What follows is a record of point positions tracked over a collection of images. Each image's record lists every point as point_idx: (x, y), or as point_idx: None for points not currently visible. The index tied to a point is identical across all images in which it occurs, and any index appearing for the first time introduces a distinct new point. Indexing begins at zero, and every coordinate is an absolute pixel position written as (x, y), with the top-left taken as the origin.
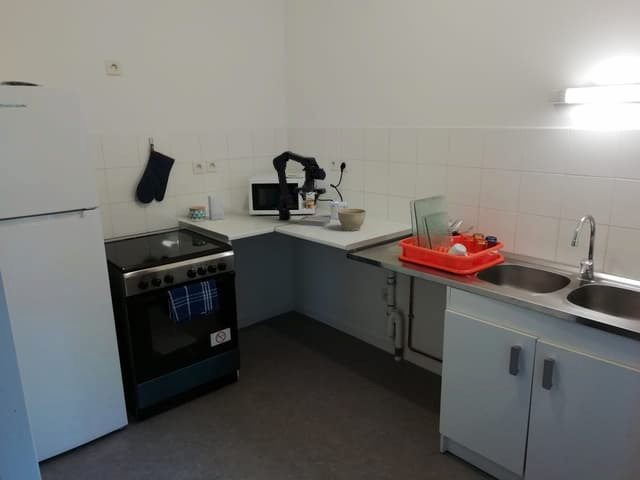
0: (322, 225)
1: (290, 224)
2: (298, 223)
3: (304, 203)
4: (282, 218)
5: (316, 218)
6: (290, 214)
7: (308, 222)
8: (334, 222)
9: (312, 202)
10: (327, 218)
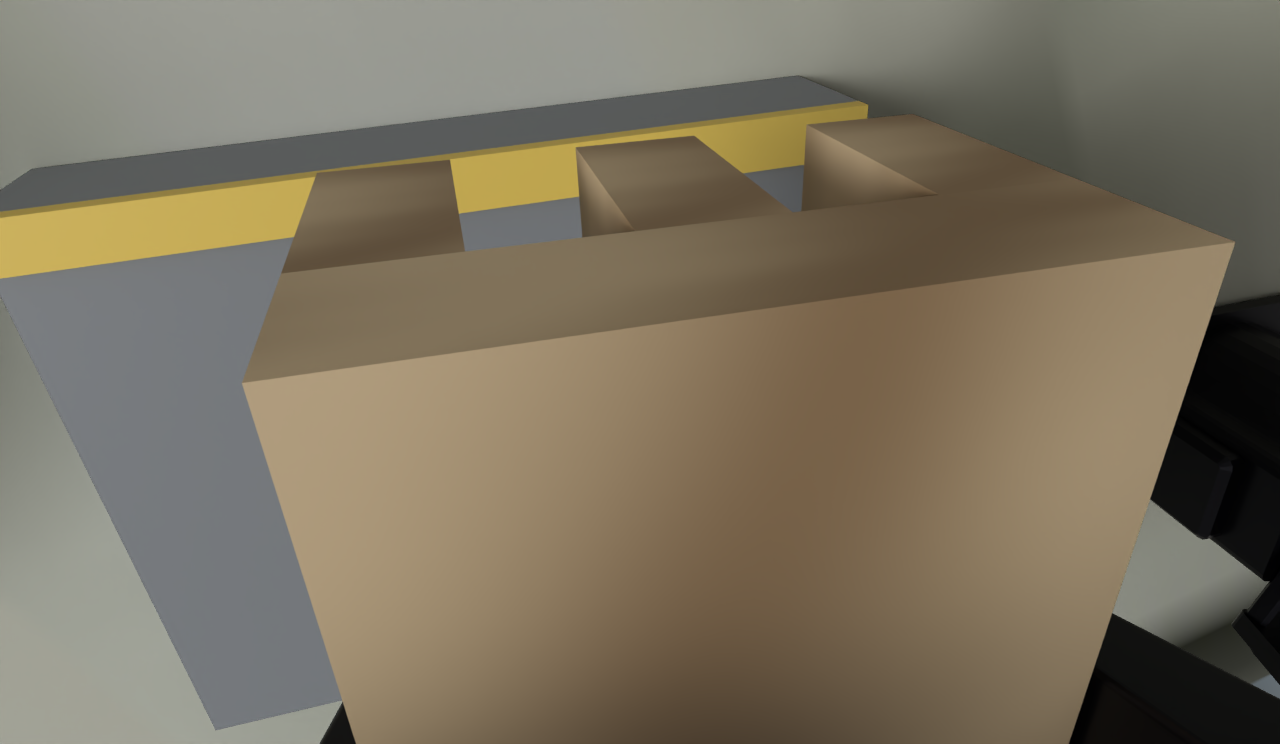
0: (56, 171)
1: (992, 18)
2: (809, 82)
3: (946, 224)
4: (1252, 332)
5: None
6: (1161, 505)
7: (525, 128)
8: (128, 663)
9: (320, 570)
10: (186, 615)
